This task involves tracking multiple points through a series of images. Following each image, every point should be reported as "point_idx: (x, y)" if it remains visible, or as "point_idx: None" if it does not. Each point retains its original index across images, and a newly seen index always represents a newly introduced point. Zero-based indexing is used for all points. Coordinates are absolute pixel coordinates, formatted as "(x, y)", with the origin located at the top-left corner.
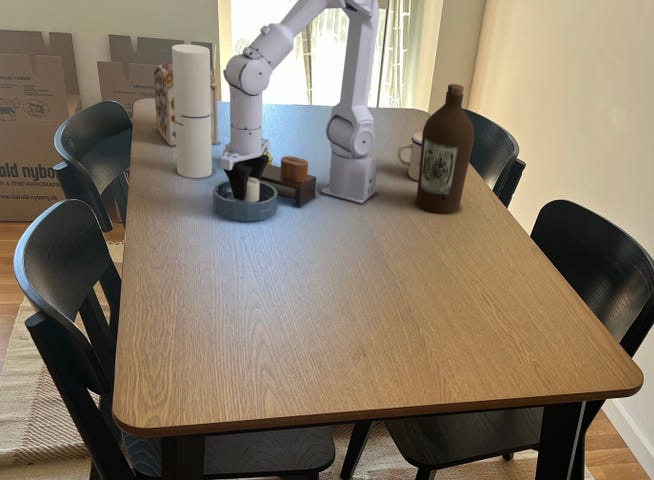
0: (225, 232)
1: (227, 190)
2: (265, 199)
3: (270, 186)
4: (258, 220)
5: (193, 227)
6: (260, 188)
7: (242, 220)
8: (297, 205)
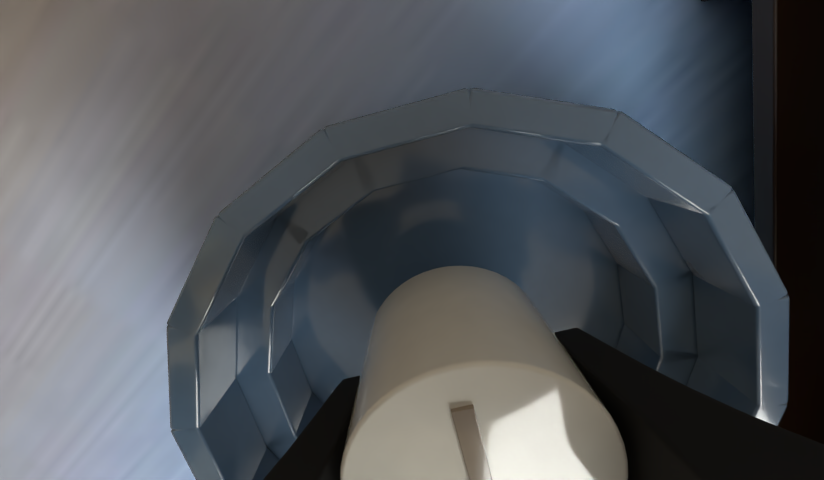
0: (158, 449)
1: (493, 136)
2: None
3: None
4: None
5: (27, 307)
6: (711, 333)
7: None
8: None
